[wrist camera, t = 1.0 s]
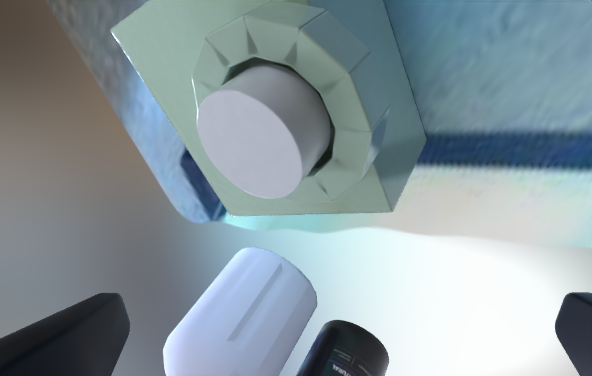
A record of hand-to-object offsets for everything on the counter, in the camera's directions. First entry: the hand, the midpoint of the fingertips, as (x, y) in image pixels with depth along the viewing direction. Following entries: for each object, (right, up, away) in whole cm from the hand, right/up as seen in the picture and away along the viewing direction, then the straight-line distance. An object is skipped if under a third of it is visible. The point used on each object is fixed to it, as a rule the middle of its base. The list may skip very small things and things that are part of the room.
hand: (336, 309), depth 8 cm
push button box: (0, +9, +12) cm, 15 cm away
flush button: (-1, +5, +5) cm, 7 cm away
